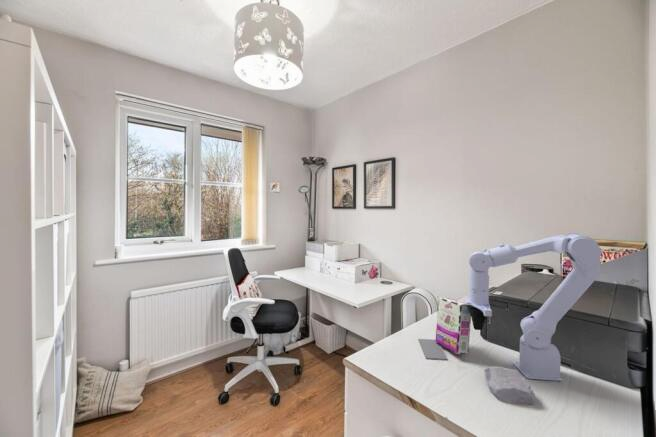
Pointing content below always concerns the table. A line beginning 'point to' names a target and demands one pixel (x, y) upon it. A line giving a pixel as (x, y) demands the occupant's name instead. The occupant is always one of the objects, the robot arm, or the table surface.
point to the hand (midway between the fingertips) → (477, 329)
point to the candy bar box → (453, 325)
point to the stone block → (508, 385)
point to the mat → (432, 349)
